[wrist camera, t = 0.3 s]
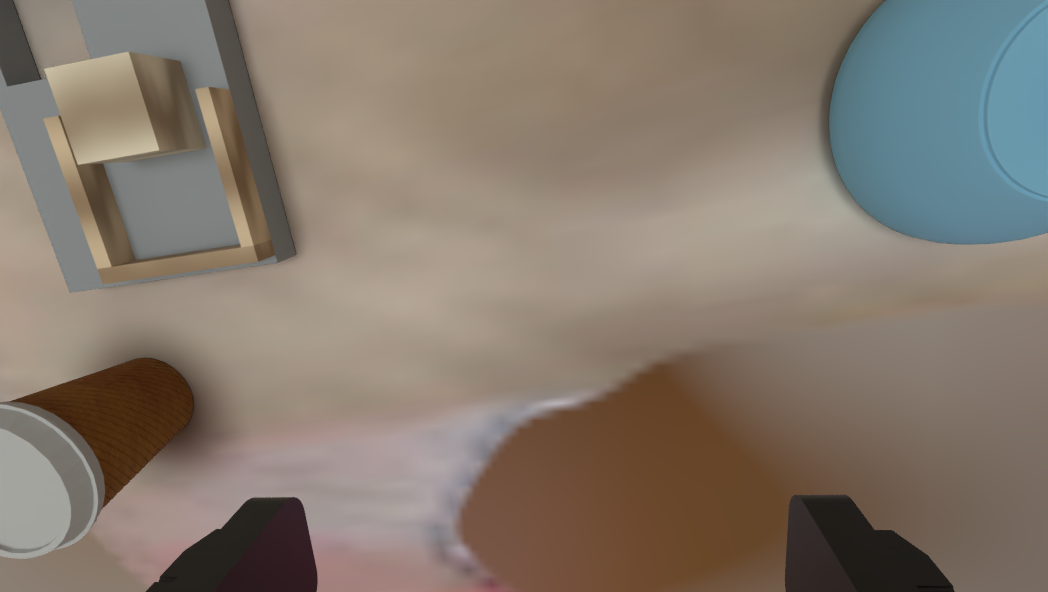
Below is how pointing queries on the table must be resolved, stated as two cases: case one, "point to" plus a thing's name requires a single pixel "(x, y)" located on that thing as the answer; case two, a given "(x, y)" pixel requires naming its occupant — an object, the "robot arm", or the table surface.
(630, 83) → the table surface
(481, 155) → the table surface
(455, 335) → the table surface
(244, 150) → the frame
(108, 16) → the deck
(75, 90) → the block
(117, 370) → the disposable coffee cup
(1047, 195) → the sugar bowl
